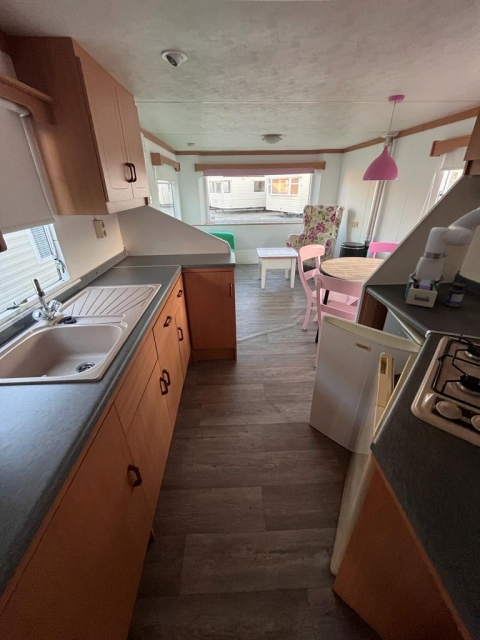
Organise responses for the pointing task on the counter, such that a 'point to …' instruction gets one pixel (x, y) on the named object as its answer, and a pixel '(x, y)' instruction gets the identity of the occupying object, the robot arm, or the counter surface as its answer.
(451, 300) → the pill bottle
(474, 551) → the counter surface
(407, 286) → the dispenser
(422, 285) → the purple cube
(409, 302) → the drawer
